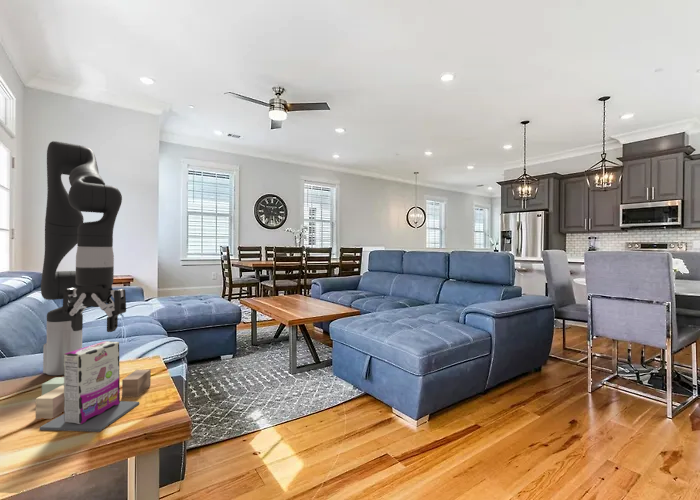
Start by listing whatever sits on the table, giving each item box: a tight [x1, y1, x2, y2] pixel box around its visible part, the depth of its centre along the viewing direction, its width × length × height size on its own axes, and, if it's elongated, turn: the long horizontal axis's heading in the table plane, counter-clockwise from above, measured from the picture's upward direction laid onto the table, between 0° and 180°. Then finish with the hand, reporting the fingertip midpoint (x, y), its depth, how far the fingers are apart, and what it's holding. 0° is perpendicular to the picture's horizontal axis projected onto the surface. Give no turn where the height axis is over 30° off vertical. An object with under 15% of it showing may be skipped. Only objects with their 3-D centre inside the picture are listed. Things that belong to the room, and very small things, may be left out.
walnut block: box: [121, 368, 152, 398], centre depth 100 cm, size 8×4×5 cm, turn 7°
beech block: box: [35, 385, 64, 420], centre depth 88 cm, size 8×4×5 cm, turn 2°
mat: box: [39, 400, 140, 433], centre depth 85 cm, size 14×14×1 cm
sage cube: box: [41, 376, 64, 396], centre depth 95 cm, size 5×5×5 cm
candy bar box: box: [63, 340, 121, 424], centre depth 86 cm, size 11×5×16 cm, turn 170°
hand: (94, 330), depth 85 cm, fingers open, 8 cm apart
